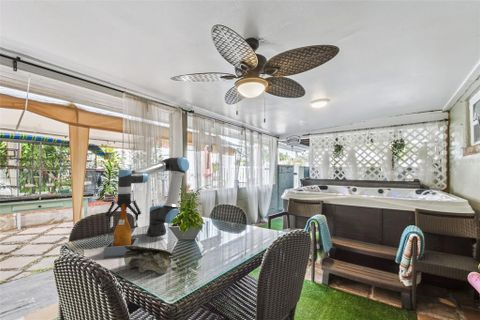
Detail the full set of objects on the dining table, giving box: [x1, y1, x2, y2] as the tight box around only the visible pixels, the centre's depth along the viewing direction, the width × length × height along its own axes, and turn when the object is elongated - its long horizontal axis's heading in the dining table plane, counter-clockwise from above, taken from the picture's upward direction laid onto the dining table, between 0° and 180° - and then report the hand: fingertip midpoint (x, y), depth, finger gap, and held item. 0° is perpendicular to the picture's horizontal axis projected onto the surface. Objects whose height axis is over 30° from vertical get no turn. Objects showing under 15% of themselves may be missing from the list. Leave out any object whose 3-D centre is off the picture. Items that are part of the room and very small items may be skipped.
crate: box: [103, 237, 139, 259], centre depth 136 cm, size 16×16×6 cm
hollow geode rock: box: [123, 245, 175, 275], centre depth 112 cm, size 28×13×15 cm
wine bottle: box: [113, 204, 132, 247], centre depth 137 cm, size 10×10×30 cm
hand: (123, 226), depth 137 cm, fingers open, 13 cm apart
